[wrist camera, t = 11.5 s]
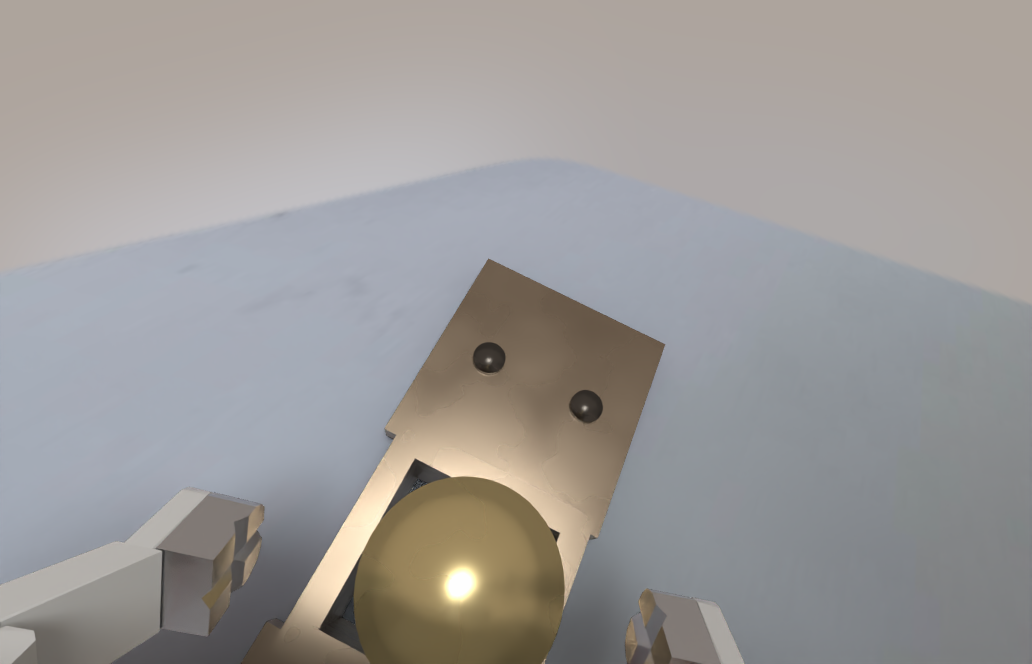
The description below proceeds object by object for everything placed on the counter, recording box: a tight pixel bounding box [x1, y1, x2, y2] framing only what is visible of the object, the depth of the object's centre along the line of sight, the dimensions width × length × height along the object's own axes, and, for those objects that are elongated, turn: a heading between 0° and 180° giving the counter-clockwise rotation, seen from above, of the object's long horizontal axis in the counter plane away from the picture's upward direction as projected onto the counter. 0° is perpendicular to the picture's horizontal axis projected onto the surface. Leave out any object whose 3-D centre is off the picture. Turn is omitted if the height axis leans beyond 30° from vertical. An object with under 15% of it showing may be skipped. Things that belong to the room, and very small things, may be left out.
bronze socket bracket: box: [241, 259, 665, 664], centre depth 14 cm, size 8×22×4 cm, turn 155°
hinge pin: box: [354, 476, 565, 664], centre depth 12 cm, size 3×3×9 cm
